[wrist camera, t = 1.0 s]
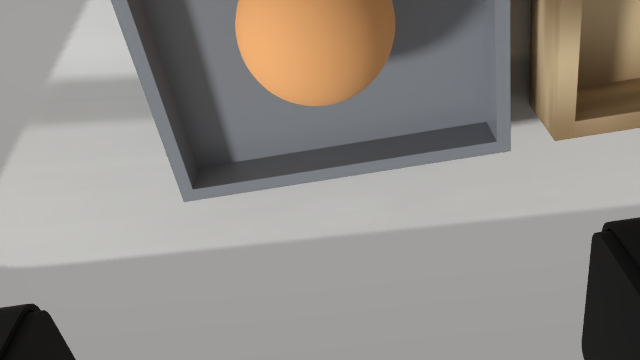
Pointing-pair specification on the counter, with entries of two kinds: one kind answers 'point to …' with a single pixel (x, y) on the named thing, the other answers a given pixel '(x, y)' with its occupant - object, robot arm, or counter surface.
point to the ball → (315, 46)
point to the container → (319, 121)
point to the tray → (585, 66)
